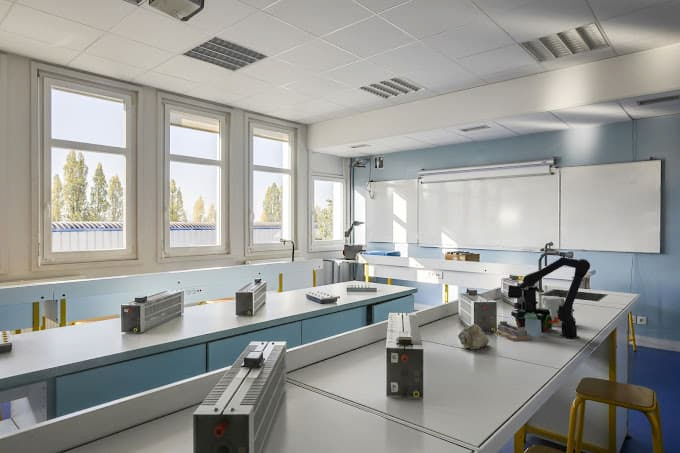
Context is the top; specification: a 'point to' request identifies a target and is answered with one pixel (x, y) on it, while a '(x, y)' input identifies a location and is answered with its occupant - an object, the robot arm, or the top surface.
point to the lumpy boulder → (473, 337)
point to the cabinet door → (533, 326)
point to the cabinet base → (512, 331)
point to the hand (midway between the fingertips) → (531, 329)
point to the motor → (546, 324)
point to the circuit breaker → (554, 306)
